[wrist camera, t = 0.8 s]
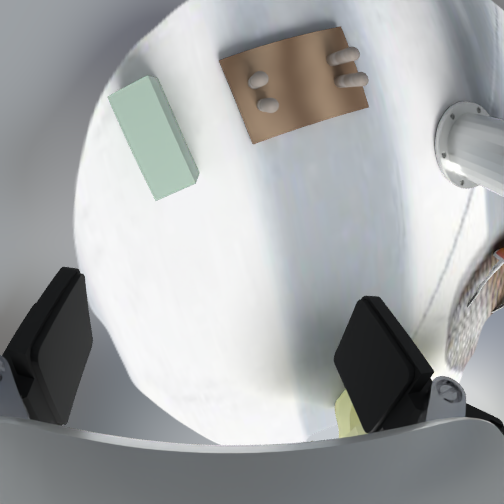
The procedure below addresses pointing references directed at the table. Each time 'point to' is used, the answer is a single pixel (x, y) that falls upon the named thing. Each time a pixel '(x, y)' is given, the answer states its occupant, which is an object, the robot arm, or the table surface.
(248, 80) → the peg stand
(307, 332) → the table surface
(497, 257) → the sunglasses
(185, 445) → the robot arm
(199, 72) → the table surface
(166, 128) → the mint green rectangular block
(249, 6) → the table surface
